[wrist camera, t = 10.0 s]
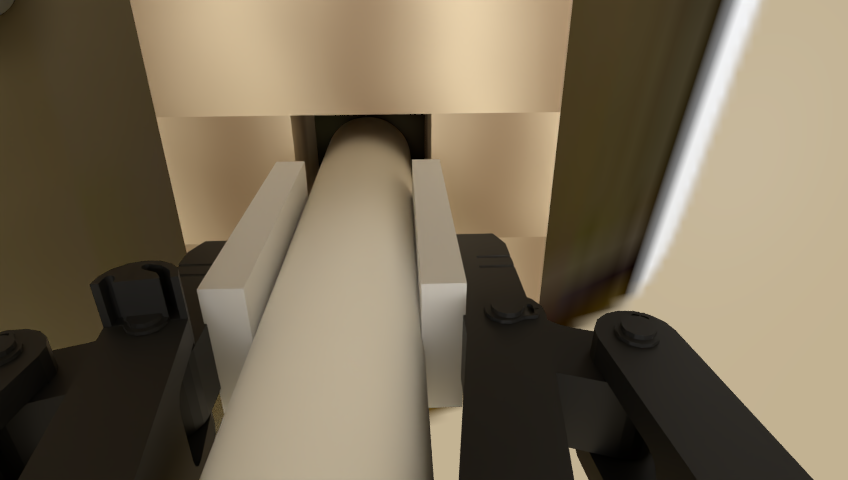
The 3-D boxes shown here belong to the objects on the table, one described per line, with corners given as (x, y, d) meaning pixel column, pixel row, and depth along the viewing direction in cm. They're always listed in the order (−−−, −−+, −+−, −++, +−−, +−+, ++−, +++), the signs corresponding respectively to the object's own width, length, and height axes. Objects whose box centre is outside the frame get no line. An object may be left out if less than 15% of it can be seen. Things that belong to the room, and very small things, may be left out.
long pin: (330, 197, 20) (169, 754, 6) (323, 117, 19) (92, 588, 5) (411, 196, 20) (444, 737, 6) (410, 116, 19) (449, 570, 5)
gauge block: (239, 276, 24) (206, 340, 20) (183, -32, 18) (122, -32, 14) (512, 270, 24) (536, 331, 20) (537, -33, 19) (576, -33, 15)
